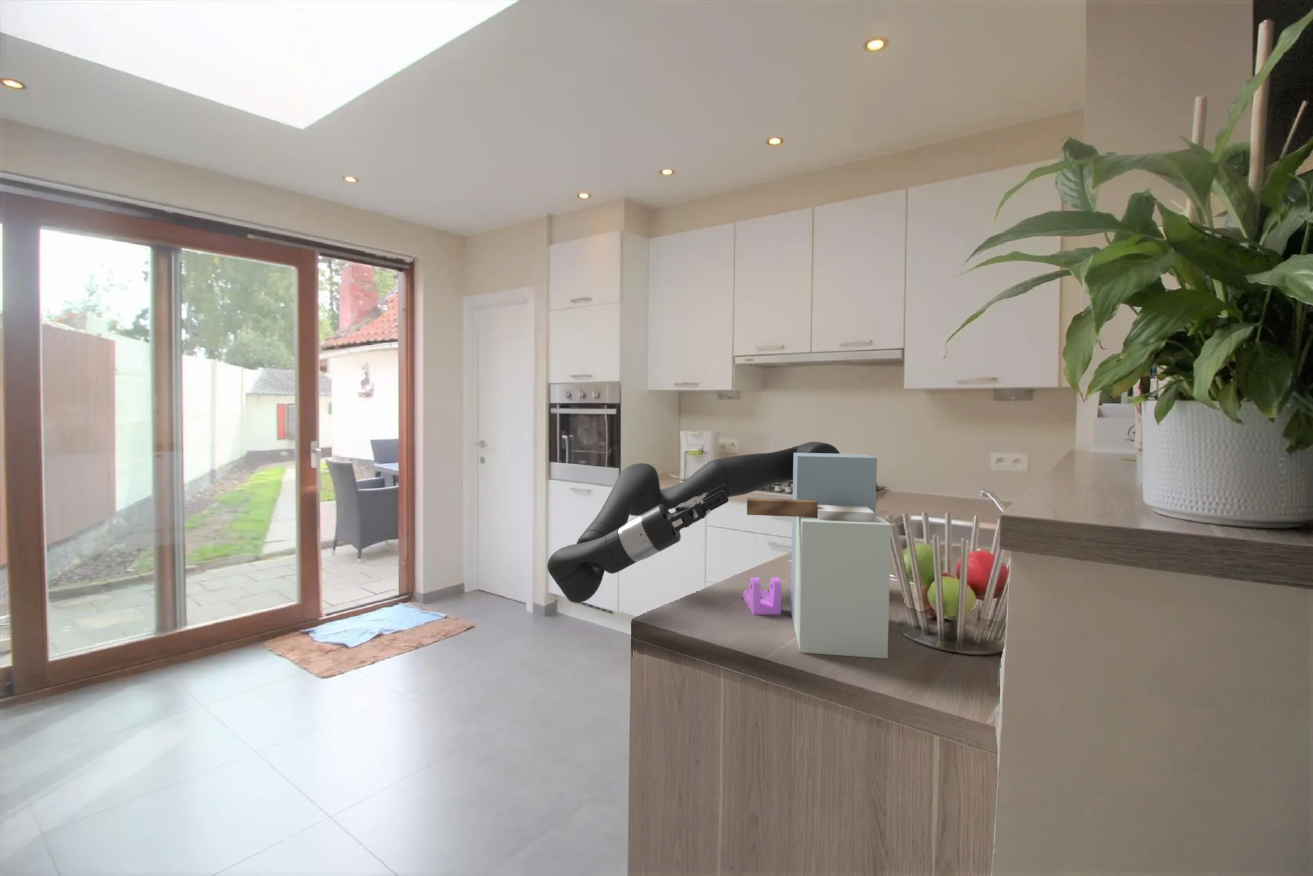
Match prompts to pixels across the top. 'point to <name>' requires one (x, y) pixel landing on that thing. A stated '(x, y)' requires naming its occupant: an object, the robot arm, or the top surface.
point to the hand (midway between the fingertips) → (727, 491)
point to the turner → (808, 509)
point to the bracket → (764, 597)
